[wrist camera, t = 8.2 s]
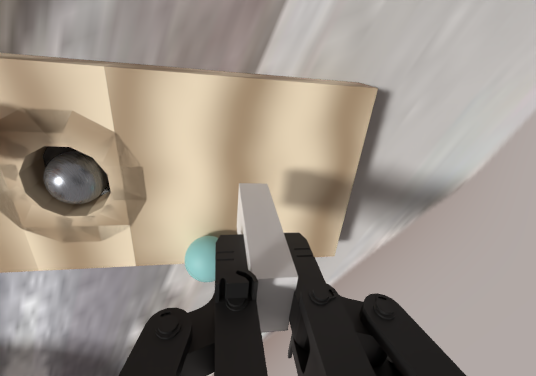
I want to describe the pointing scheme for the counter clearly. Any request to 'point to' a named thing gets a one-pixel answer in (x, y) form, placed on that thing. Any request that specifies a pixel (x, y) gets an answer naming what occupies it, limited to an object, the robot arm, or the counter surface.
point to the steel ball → (74, 178)
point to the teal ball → (201, 258)
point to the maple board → (169, 157)
